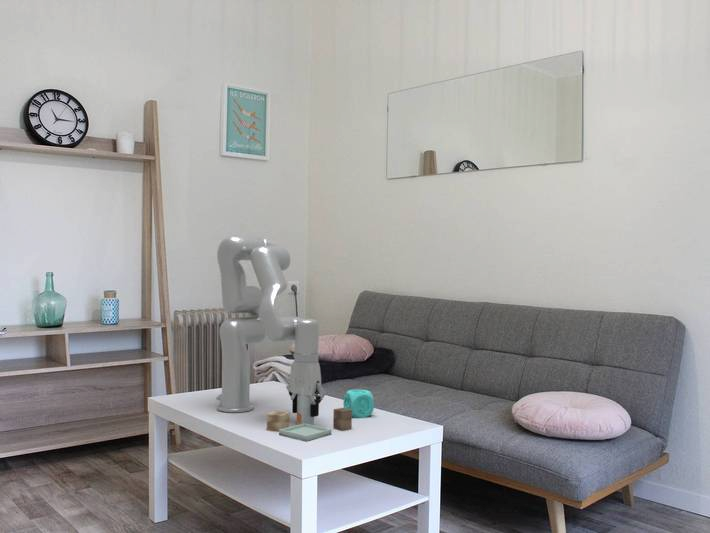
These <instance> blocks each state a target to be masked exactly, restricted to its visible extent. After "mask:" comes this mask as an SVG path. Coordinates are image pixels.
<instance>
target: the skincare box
mask: <svg viewBox="0 0 710 533" xmlns="http://www.w3.org/2000/svg"><path fill="white" fill-rule="evenodd" d="M311 404H312V401H311V398H310V396H305V395H304V389H301V395H299V394H297V413H296V423H297V425H300V424H304V423H306V424H310V425H315V417H311V416H310V408H311Z"/></svg>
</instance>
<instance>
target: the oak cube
mask: <svg viewBox="0 0 710 533" xmlns="http://www.w3.org/2000/svg"><path fill="white" fill-rule="evenodd" d="M288 427H290V412H287V411H279V410H275V411H274V410H273V411H271V412H269V413H267V414H266V431H269V432H278V433H279V430H280V429H284V428H288Z"/></svg>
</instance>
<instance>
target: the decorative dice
mask: <svg viewBox="0 0 710 533" xmlns="http://www.w3.org/2000/svg"><path fill="white" fill-rule="evenodd" d="M343 408H347V409H351V410H352V418H354V417H357V418H358V419H362V417H365V418H369V417H370V416H371V415H372V414H373V412H374V409H375V400H374V396H373V393H372V392H371V391H369V390H367V389H349V390H347V391H346V392H345V394H344V395H343ZM368 416H369V417H368ZM357 418H356V419H357Z"/></svg>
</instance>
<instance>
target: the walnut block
mask: <svg viewBox="0 0 710 533" xmlns="http://www.w3.org/2000/svg"><path fill="white" fill-rule="evenodd" d="M332 419H333V421H332V422H333V424H332V425H333V426H332V428H333V429H334V430H337V431H340V432H344V431H349V429H350V430H352V428H353V426H352V422H353V417H352V410H351V409H347V408H344V407H338V408H333V418H332Z"/></svg>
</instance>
